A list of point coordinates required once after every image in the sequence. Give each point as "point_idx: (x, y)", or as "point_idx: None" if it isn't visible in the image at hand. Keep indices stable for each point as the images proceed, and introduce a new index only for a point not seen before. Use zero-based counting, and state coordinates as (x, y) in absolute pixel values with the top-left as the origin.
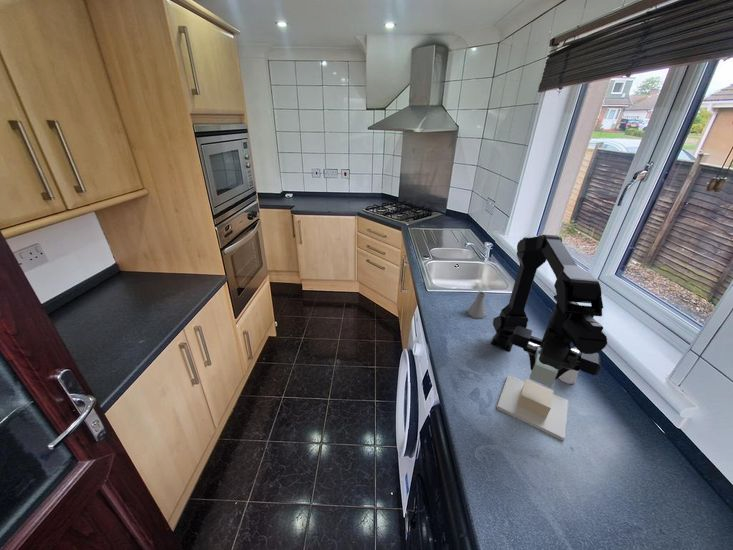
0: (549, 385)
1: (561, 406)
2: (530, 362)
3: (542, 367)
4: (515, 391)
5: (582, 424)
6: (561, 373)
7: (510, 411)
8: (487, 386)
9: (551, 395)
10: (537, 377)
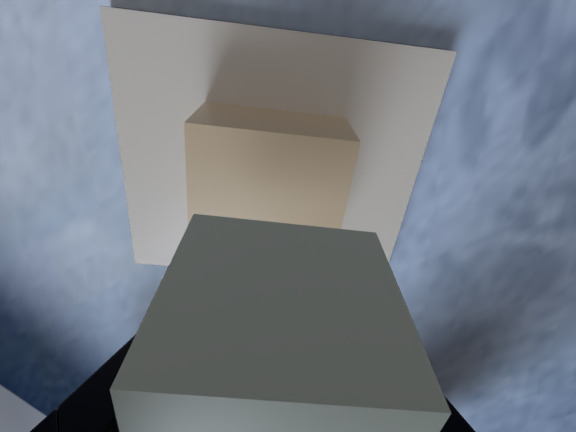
0: (207, 225)
1: (154, 217)
2: (448, 405)
3: (339, 401)
4: (352, 204)
5: (64, 169)
6: (83, 400)
7: (384, 47)
8: (476, 180)
9: None
10: (326, 258)
